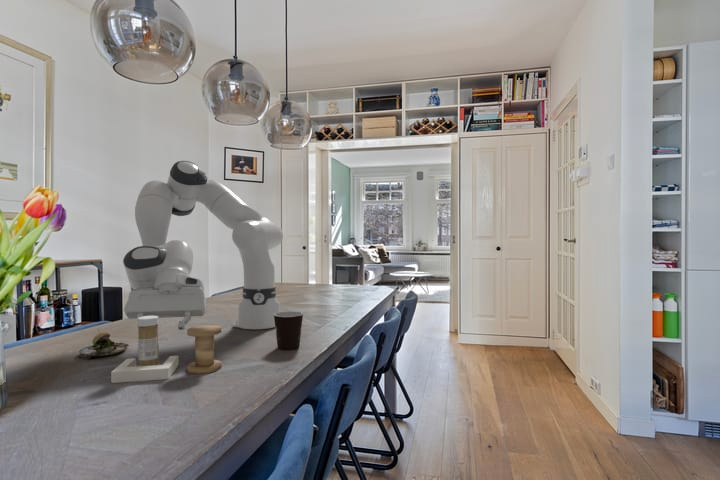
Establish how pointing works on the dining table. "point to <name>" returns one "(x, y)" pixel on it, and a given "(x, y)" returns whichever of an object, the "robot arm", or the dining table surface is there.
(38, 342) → the dining table surface
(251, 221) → the robot arm
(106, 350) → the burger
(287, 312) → the dark brown cup
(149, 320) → the sprinkles bottle
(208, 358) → the oak spool
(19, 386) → the dining table surface
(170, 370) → the notched board
